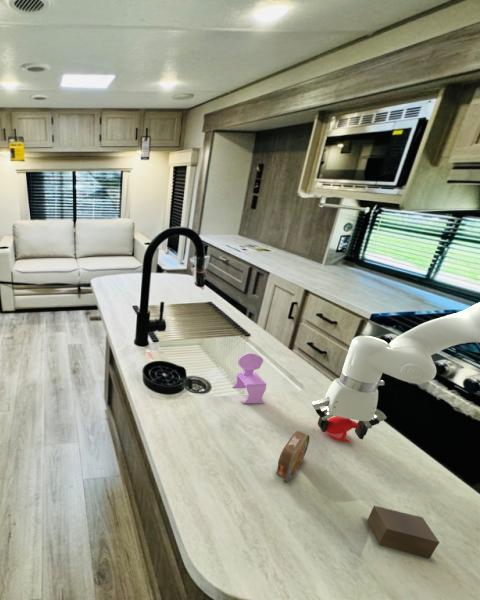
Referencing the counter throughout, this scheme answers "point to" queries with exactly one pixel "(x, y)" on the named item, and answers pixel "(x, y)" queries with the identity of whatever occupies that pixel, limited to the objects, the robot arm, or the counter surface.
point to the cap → (340, 427)
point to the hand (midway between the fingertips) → (339, 431)
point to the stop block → (402, 532)
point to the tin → (292, 455)
